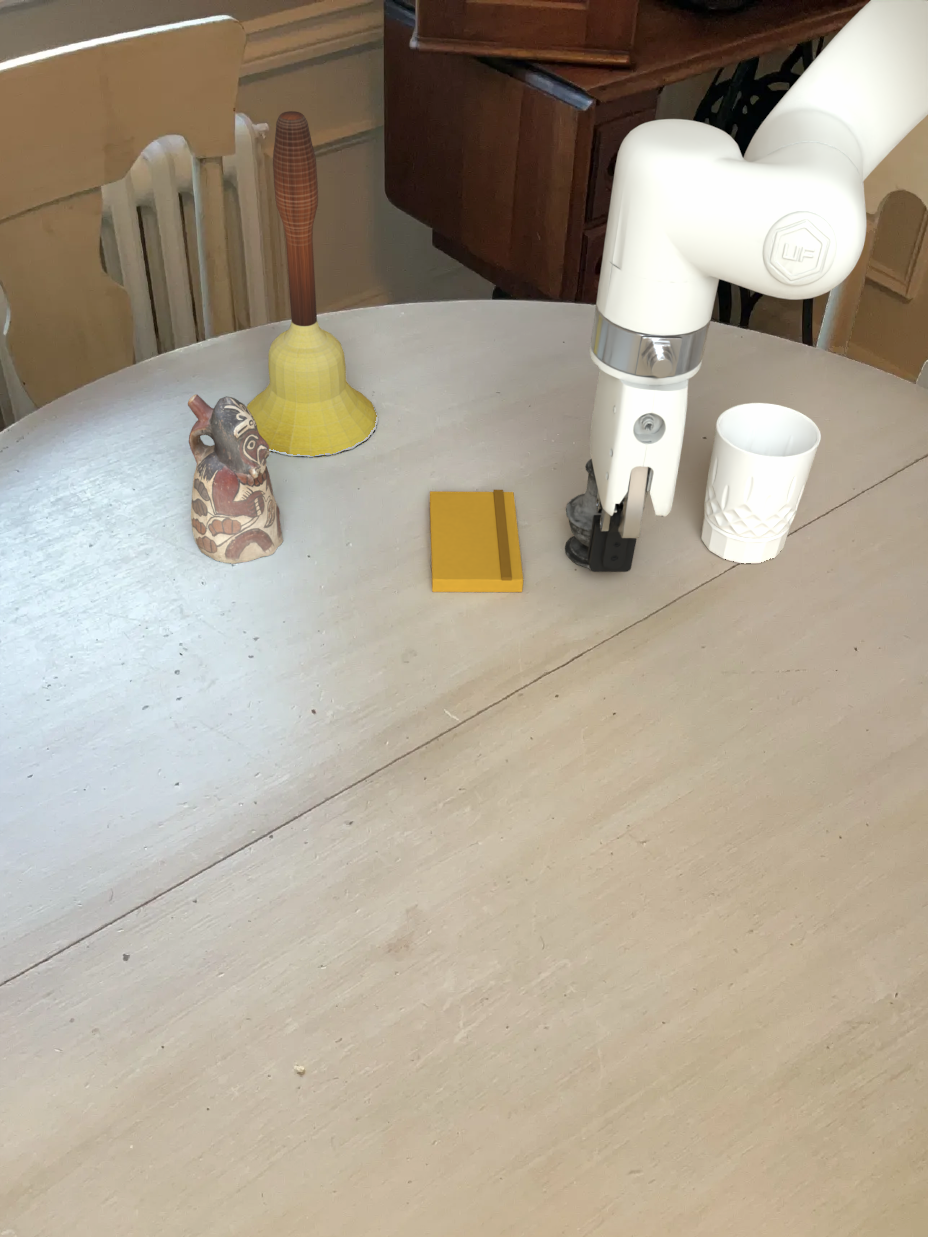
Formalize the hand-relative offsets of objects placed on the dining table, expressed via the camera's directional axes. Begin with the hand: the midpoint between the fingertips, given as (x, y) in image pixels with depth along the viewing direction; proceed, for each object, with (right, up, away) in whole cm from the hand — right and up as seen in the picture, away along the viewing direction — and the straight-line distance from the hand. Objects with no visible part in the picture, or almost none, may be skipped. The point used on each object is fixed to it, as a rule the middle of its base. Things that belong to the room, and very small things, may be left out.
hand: (608, 565), depth 97 cm
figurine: (-29, +3, +5) cm, 30 cm away
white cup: (+12, +3, +6) cm, 14 cm away
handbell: (-25, +17, +17) cm, 34 cm away
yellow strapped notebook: (-10, +3, +5) cm, 12 cm away
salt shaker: (0, +2, +5) cm, 5 cm away
